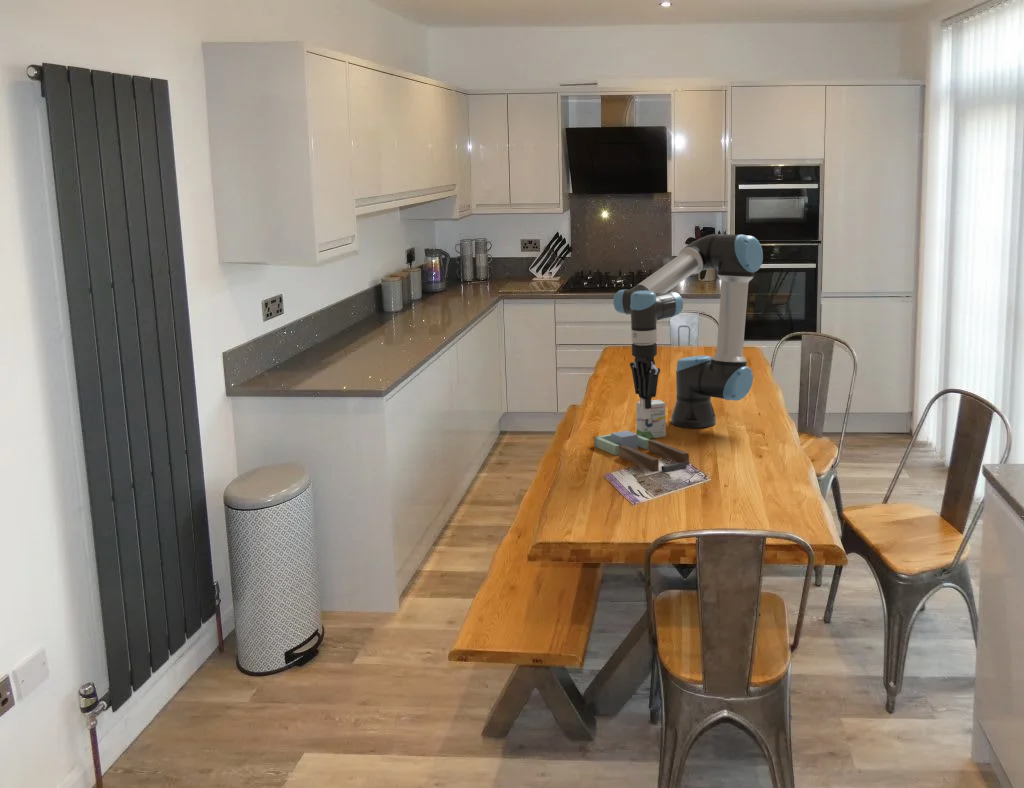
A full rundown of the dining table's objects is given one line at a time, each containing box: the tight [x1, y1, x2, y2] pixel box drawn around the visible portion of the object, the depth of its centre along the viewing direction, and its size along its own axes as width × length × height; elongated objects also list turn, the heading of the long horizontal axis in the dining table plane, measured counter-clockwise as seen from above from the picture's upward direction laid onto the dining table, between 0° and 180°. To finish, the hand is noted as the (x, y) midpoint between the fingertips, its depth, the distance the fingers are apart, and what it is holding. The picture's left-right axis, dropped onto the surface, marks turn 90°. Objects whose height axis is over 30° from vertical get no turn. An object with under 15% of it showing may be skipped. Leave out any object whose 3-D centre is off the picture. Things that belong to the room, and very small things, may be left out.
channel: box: [618, 439, 690, 473], centre depth 307 cm, size 13×18×4 cm
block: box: [610, 430, 639, 450], centre depth 321 cm, size 6×6×5 cm
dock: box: [593, 433, 651, 456], centre depth 322 cm, size 13×12×3 cm
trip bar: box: [661, 462, 688, 473], centre depth 298 cm, size 8×2×2 cm, turn 117°
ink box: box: [636, 399, 667, 440], centre depth 333 cm, size 9×5×12 cm, turn 105°
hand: (646, 418), depth 309 cm, fingers closed
